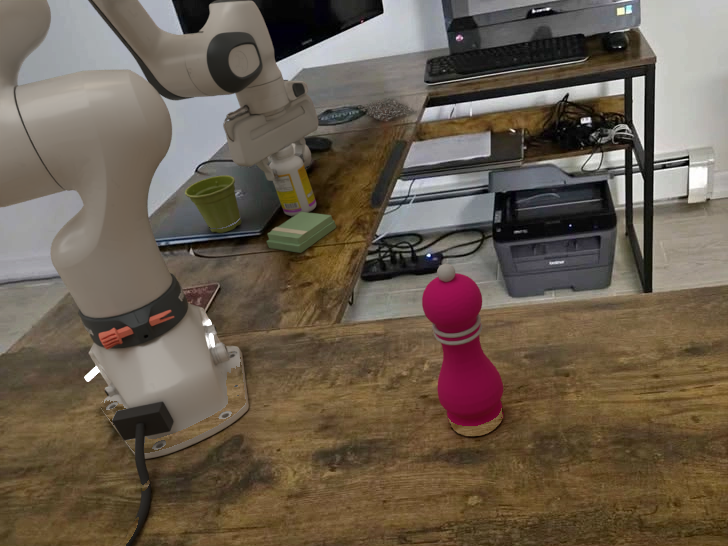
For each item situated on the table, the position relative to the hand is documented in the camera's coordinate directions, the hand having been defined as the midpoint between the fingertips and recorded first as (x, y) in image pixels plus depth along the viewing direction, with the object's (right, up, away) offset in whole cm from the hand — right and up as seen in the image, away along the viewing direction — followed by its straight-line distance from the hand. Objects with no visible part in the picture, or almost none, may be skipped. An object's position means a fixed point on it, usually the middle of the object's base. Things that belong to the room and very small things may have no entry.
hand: (287, 170), depth 130 cm
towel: (+5, -14, -6) cm, 16 cm away
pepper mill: (+37, -43, -53) cm, 78 cm away
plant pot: (-13, -10, +4) cm, 17 cm away
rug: (+12, +31, +52) cm, 61 cm away
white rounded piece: (-5, +7, +24) cm, 25 cm away
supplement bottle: (+1, -7, +5) cm, 8 cm away
